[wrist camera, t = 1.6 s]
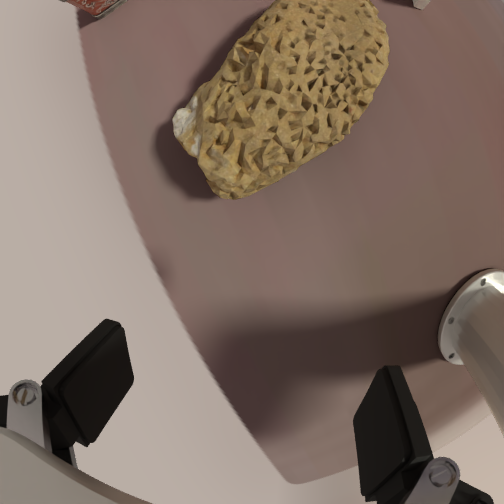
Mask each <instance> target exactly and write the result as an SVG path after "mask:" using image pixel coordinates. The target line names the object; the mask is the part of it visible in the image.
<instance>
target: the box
mask: <svg viewBox="0 0 504 504" xmlns="http://www.w3.org/2000/svg"><path fill="white" fill-rule="evenodd" d="M430 1H431V0H413V4H414V7H416V8H418V9H421V10H423V9H424V8H425V7H426V5H427V4H428V3H429V2H430Z"/></svg>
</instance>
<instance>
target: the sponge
mask: <svg viewBox="0 0 504 504" xmlns="http://www.w3.org/2000/svg"><path fill="white" fill-rule="evenodd" d="M378 12H379V11H378V10H377V9H376V8H375V6H374V5H373V4H372V3H371V1H370V0H275V1H274V2H273V3H272V4H271V5H270V6H269V8H268V9H267V10H266V11H265V12H264V14H263V15H262V16H261V17H259V18H258V19H257V20H255V22H254V23H253V24H252V26H251V28H250V30H249V31H248V32H247V33H246V34H245V35H244V36H243V37H241V38H240V39H237V41H236V43H235V44H234V46H233V47H232V49H231V50H230V51H229V53H228V56H227V57H226V59H225V61H224V63H223V65H222V66H221V68H220V70H219V71H218V72H217V73H216V75H215V76H214V77H213V78H212V79H211V80H210V81H208V82H206V83H204V84H203V85H201V86H200V87H199V88H198V89H197V91H196V92H195V93H194V94H193V96H192V98H191V100H190V101H189V103H188V104H187V106H186V107H185V108H181V109H179V110H177V112H176V114H175V115H174V117H173V119H172V120H173V126H174V131H173V132H174V134H175V137H176V139H177V140H178V141H179V143H180V144H181V145H182V147H183V148H184V150H186V151H187V152H188V153H189V155H191V156H193V157H195V158H197V161H198V165H199V167H200V168H201V169H202V170H203V172H204V174H205V176H206V178H207V179H206V181H207V183H208V184H209V186H210V187H211V189H212V191H213V192H214V193H215V194H216V195H218V196H219V197H220V198H225V199H228V198H229V199H232V200H236V199H239V198H243V197H247V196H250V195H251V194H253V193H255V192H257V191H259V190H261V189H263V188H265V187H267V186H269V185H271V184H273V183H275V182H278V181H279V179H281V178H283V177H285V176H286V175H288V174H290V173H292V172H294V171H296V170H297V169H298V167H299V166H301V165H303V164H305V163H306V162H308V161H310V160H311V159H313V158H315V157H317V156H318V155H320V154H322V153H323V152H325V151H326V150H327V149H328V147H331V146H333V145H335V144H337V143H339V142H340V141H342V140H343V139H344V135H346V134H350V128H351V127H352V125H353V124H354V123H356V122H357V121H358V120H359V118H360V116H361V114H362V113H363V112H364V111H365V110H366V109H367V107H368V106H369V103H370V102H371V101H372V99H373V93H374V91H375V89H376V88H377V86H378V85H379V84H380V81H381V79H382V77H383V75H384V73H385V71H386V69H387V67H388V65H389V63H388V54H389V52H390V49H389V44H388V35H387V33H386V31H385V29H386V26H387V25H386V24H384V23H383V21H382V20H380V19H378V17H377V14H378Z"/></svg>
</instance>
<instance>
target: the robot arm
mask: <svg viewBox="0 0 504 504" xmlns="http://www.w3.org/2000/svg"><path fill="white" fill-rule="evenodd" d="M438 345H439V348H440V351H441V353H442V354H443V356H444V358H445V359H446V360H447V361H449V362H451V363H452V364H457V365H462V364H464V365H465V367H466V368H467V370H468V371H469V373H470V375H471V376H472V378H473V380H474V381H475V383H476V385H477V387H478V388H479V390H480V392H481V394H482V395H483V397H484V399H485V401H486V403H487V404H488V406H489V408H490V410H491V412H492V414H493V416H494V418H495V420H496V422H497V424H498V426H499V428H500V430H501V432H502V434H503V436H504V271H502V270H500V269H487V270H485V271H482V272H480V273H478V274H476V275H475V276H473V277H472V278H471V279H469V280H468V281H467V282H466V283H465V284H464V285H463V286H462V287H461V288H460V289H459V290H458V291H457V293H456V294H455V296H454V297H453V298H452V300H451V301H450V303H449V305H448V306H447V308H446V310H445V312H444V315H443V317H442V319H441V323H440V326H439V331H438ZM133 381H134V375H133V371H132V366H131V362H130V357H129V352H128V347H127V342H126V336H125V331H124V328H123V327H121V324H120V323H119V322H116V321H113V320H109V319H105V320H103V321H102V322H101V323H100V324H99V325H98V326H97V327H96V328H95V329H94V330H93V331H92V332H90V334H88V335H87V336H86V337H85V338H84V339H83V340H82V341H81V342H80V343H79V344H78V345H77V346H76V347H75V348H74V349H73V350H72V351H71V352H70V353H69V354H68V355H67V356H66V357H65V358H64V359H63V360H62V361H61V362H60V363H59V364H58V365H57V366H56V367H55V368H54V369H53V370H52V371H51V372H50V373H49V374H48V375H47V376H46V377H45V378H44V379H43V380H42V385H41V386H39V384H37V383H36V382H35V381H32V380H21V381H19V382H17V383H15V384H14V385H13V386H12V388H11V389H10V392H9V395H5V396H4V395H3V396H0V504H152V503H149V502H147V501H144V500H141V499H139V498H136V497H134V496H131V495H129V494H127V493H124V492H122V491H120V490H118V489H115V488H113V487H111V486H109V485H107V484H105V483H103V482H101V481H99V480H97V479H95V478H93V477H91V476H89V475H88V474H86V473H84V472H82V471H80V470H79V469H78V467H77V463H76V459H75V454H74V449H73V444H74V443H75V442H78V443H80V444H82V445H84V446H85V447H88V445H89V444H90V443H93V442H95V441H96V439H97V437H98V436H99V434H100V433H101V431H102V430H103V428H104V427H105V425H106V424H107V422H108V420H109V419H110V417H111V416H112V415H113V413H114V411H115V410H116V409H117V407H118V405H119V404H120V402H121V401H122V399H123V398H124V396H125V395H126V393H127V392H128V391H129V389H130V388H131V386H132V384H133ZM353 426H354V433H355V441H356V449H357V457H358V467H359V476H360V488H361V494H362V496H365V501H366V502H370V501H377V504H494V503H493V499H492V498H491V496H489V495H488V494H487V493H484V492H482V491H480V490H478V489H476V488H474V487H472V486H471V485H469V484H467V483H465V482H463V481H461V480H459V479H460V470H459V467H458V465H457V464H456V463H455V462H454V461H453V460H451V459H450V458H447V457H438V458H435V459H434V457H433V454H432V450H431V447H430V444H429V441H428V438H427V434H426V431H425V428H424V426H423V423H422V420H421V417H420V414H419V411H418V408H417V406H416V404H415V402H414V400H413V398H412V395H411V392H410V390H409V387H408V385H407V382H406V380H405V377H404V375H403V372H402V370H401V368H400V366H384V367H383V368H382V369H379V370H378V371H377V373H376V375H375V377H374V379H373V381H372V383H371V385H370V387H369V389H368V391H367V393H366V395H365V397H364V399H363V401H362V403H361V404H360V406H359V408H358V410H357V412H356V413H355V415H354V419H353Z"/></svg>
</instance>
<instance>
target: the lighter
mask: <svg viewBox="0 0 504 504" xmlns="http://www.w3.org/2000/svg"><path fill="white" fill-rule="evenodd" d="M60 1H62V2H68V3H70V4H72V5H74V6H76V7H79V8H81V9H83V10H85V11H87V12H89V13H90V14H92V16H93V17H95V18H97V19H102V18H104V17H105V16H107V15H108V14H110V13H111V12H113V11H114V10H115V9H117V8H118V7H119V6H121V5H122V4H124V3H125V2H126V1H128V0H60Z"/></svg>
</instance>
